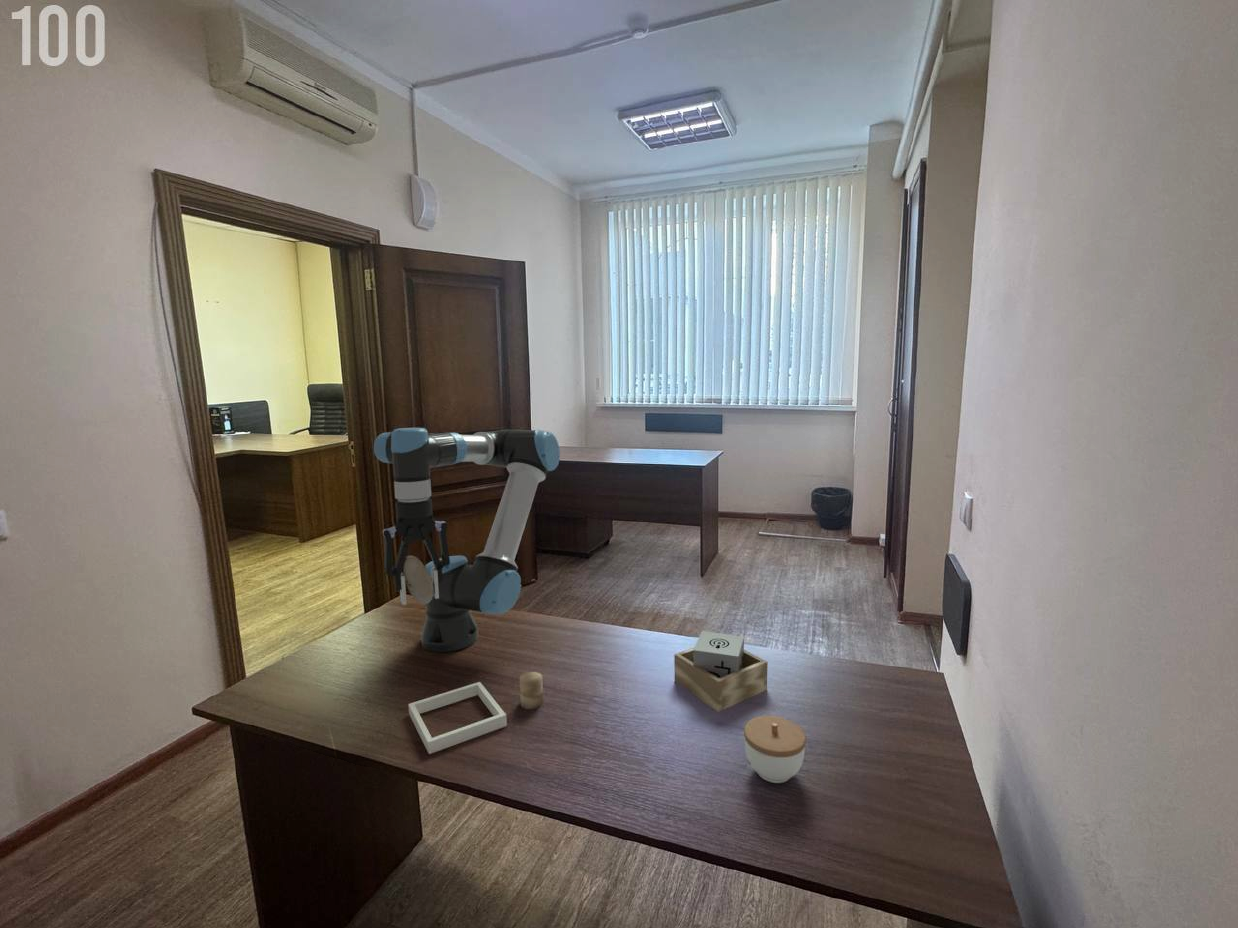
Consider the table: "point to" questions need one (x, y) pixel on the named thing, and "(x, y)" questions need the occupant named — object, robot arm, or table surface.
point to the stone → (418, 580)
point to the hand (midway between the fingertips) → (420, 599)
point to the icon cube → (719, 653)
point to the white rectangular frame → (461, 733)
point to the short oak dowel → (531, 690)
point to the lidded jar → (774, 747)
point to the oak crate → (721, 680)
